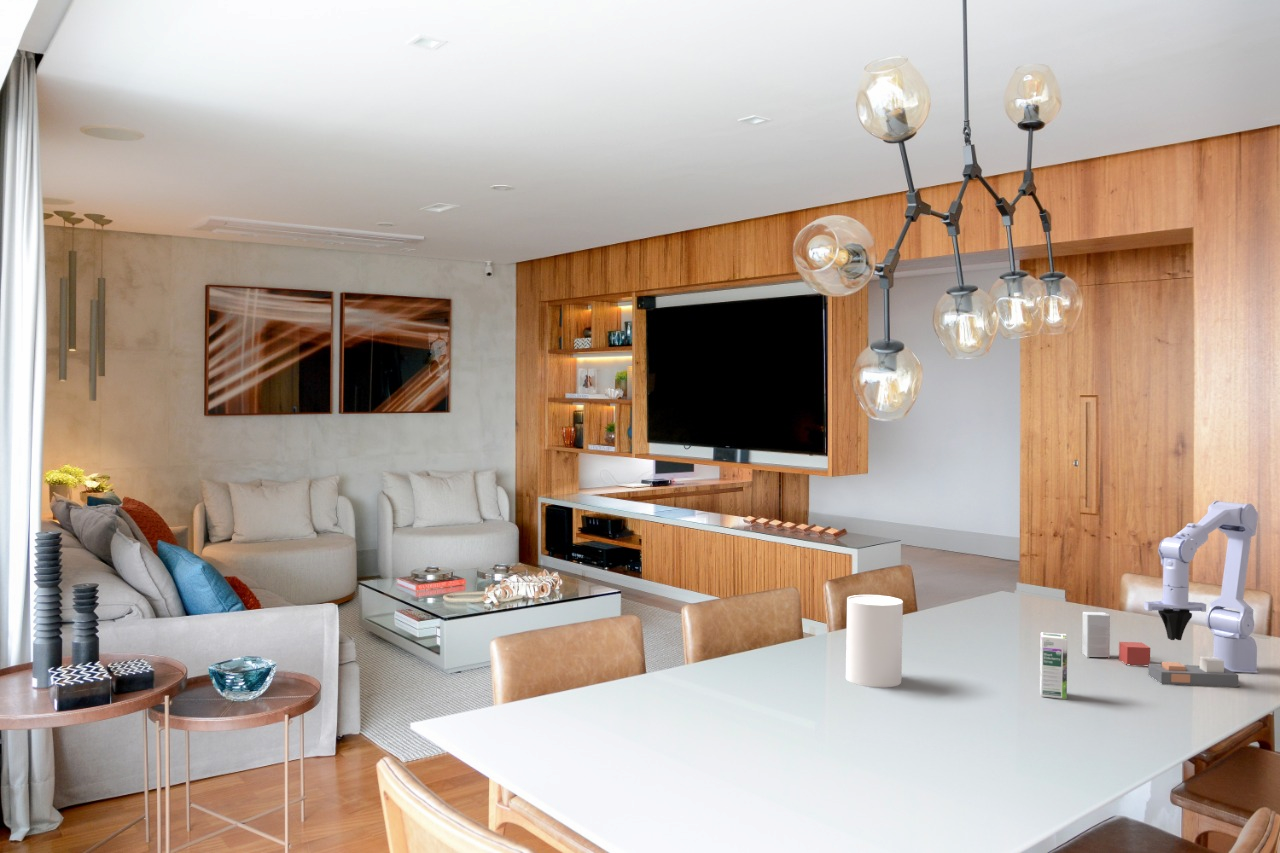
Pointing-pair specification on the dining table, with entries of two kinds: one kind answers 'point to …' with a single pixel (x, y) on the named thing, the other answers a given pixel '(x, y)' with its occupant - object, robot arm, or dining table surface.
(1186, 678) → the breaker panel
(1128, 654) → the cap
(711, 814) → the dining table surface
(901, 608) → the canister
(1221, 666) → the block
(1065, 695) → the syrup box
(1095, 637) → the skincare box
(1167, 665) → the block
